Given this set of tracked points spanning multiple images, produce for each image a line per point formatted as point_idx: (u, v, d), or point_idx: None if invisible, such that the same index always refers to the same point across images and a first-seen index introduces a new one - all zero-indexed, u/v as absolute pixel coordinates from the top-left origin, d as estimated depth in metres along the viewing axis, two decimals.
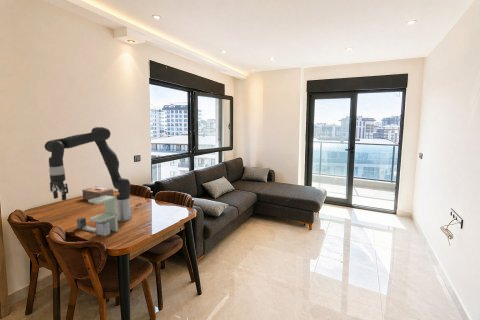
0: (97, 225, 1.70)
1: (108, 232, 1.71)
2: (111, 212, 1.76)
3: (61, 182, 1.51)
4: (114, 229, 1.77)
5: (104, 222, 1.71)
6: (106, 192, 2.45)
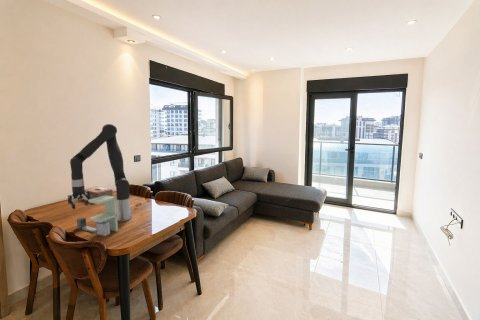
0: (97, 225, 1.70)
1: (108, 232, 1.71)
2: (111, 212, 1.76)
3: None
4: (114, 229, 1.77)
5: (104, 222, 1.71)
6: (105, 192, 2.44)
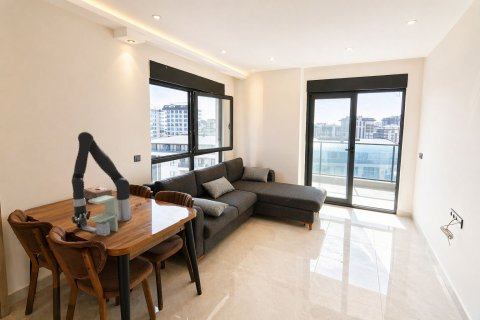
0: (97, 225, 1.70)
1: (108, 232, 1.71)
2: (111, 212, 1.76)
3: None
4: (114, 229, 1.77)
5: (104, 222, 1.71)
6: (104, 193, 2.43)
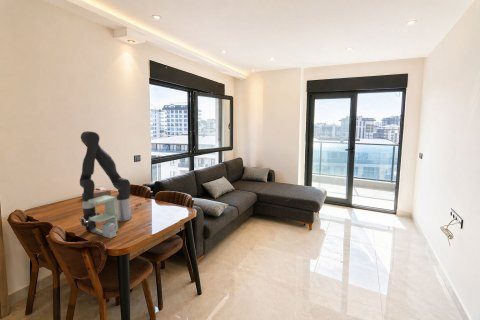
0: (103, 227, 1.67)
1: (114, 234, 1.68)
2: (111, 212, 1.76)
3: None
4: None
5: (110, 224, 1.67)
6: (102, 193, 2.42)
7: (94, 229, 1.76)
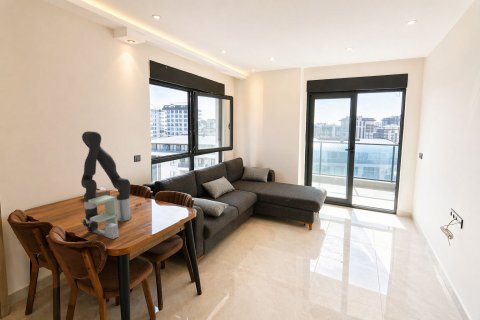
0: (105, 227, 1.66)
1: (116, 235, 1.67)
2: (111, 212, 1.76)
3: None
4: None
5: (112, 224, 1.67)
6: (101, 193, 2.42)
7: (96, 230, 1.75)
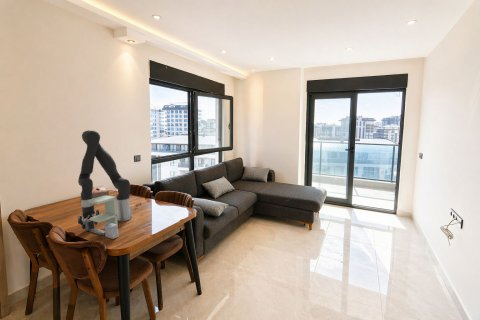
0: (105, 227, 1.66)
1: (116, 235, 1.67)
2: (111, 212, 1.76)
3: None
4: None
5: (112, 224, 1.67)
6: (100, 193, 2.41)
7: (93, 229, 1.76)
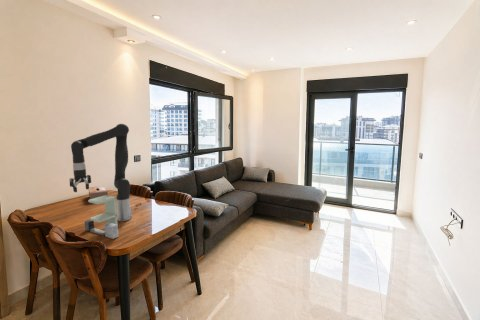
0: (106, 227, 1.66)
1: (116, 235, 1.67)
2: (111, 212, 1.76)
3: None
4: None
5: (112, 224, 1.67)
6: (98, 193, 2.40)
7: (93, 229, 1.76)
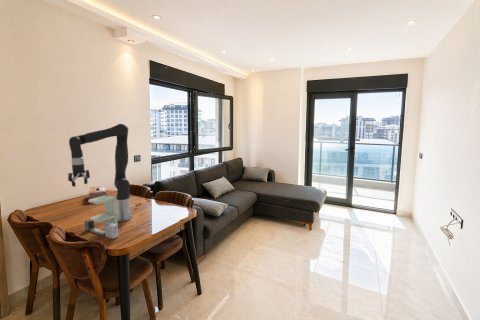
0: (106, 227, 1.66)
1: (116, 235, 1.67)
2: (111, 212, 1.76)
3: None
4: None
5: (113, 224, 1.67)
6: (97, 194, 2.39)
7: (93, 229, 1.76)
